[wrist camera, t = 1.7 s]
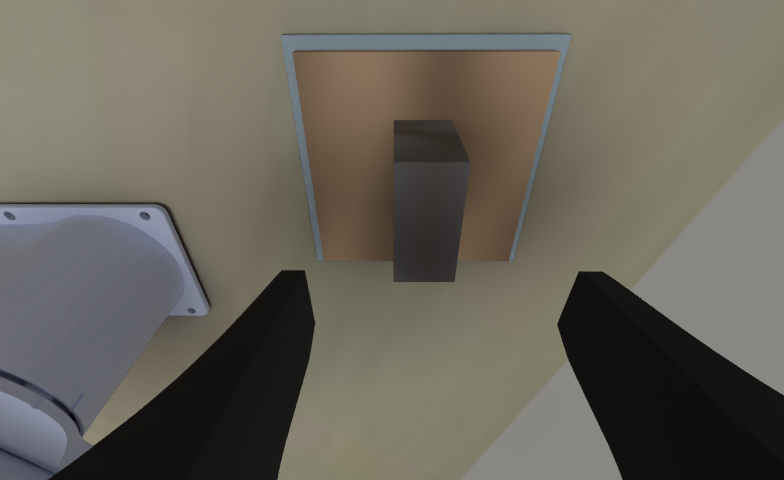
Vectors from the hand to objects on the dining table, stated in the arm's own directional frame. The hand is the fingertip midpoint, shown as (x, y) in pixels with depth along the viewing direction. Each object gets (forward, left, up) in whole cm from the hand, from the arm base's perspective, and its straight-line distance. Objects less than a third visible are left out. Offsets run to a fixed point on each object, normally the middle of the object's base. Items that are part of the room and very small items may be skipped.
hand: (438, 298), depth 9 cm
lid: (0, 0, -8) cm, 8 cm away
